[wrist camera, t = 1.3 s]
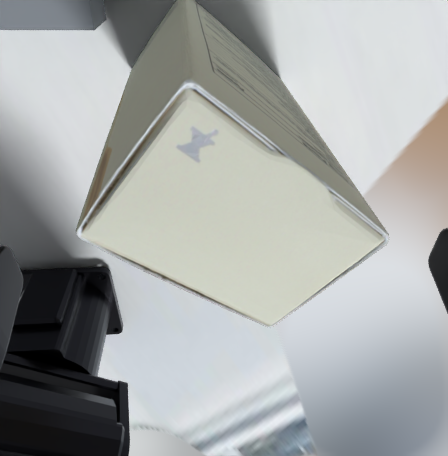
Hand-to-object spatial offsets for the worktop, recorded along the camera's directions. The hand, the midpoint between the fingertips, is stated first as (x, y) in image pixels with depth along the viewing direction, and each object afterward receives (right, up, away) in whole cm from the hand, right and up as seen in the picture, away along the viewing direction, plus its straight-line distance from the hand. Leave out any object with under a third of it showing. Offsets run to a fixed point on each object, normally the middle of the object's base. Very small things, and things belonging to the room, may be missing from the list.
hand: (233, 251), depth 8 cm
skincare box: (-1, +8, +10) cm, 13 cm away
